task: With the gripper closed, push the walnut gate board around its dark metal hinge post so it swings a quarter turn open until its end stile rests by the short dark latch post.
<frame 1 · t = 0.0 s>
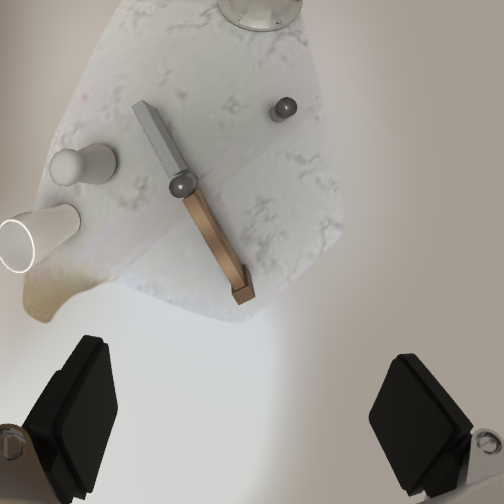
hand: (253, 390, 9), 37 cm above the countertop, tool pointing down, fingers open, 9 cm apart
grey rectangular slab: (167, 140, 41), on the countertop
hinge post: (189, 180, 43), on the countertop
gate: (218, 243, 41), point 5 cm above the countertop, hinge at 0.0°
drinking glass: (67, 219, 43), on the countertop
salt shaker: (103, 163, 41), on the countertop
latch post: (278, 114, 41), on the countertop
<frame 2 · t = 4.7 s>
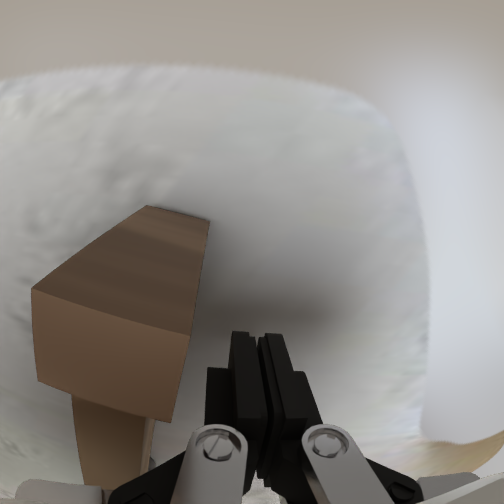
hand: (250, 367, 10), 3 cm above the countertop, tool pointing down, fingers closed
gate: (129, 434, 9), point 5 cm above the countertop, hinge at 6.9°, touching gripper
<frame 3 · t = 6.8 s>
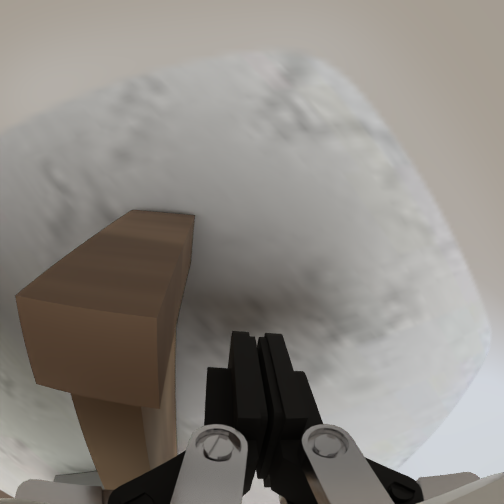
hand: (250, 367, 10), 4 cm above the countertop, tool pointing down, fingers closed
grey rectangular slab: (99, 476, 17), on the countertop
gate: (147, 435, 10), point 5 cm above the countertop, hinge at 56.3°, touching gripper
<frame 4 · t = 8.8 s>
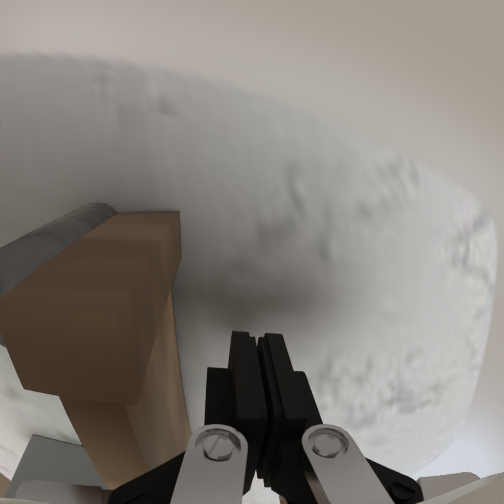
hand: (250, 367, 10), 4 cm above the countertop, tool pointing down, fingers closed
grey rectangular slab: (94, 454, 16), on the countertop
gate: (154, 435, 10), point 5 cm above the countertop, hinge at 91.1°, touching gripper, latch post
latch post: (98, 231, 12), on the countertop
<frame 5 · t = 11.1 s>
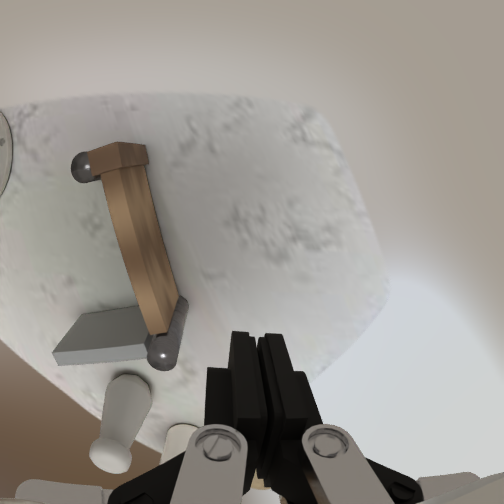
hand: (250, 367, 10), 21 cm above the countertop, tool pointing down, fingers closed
grey rectangular slab: (121, 314, 32), on the countertop
hinge post: (177, 305, 32), on the countertop
gate: (140, 234, 25), point 5 cm above the countertop, hinge at 91.1°, touching latch post
drinking glass: (186, 433, 38), on the countertop
salt shaker: (133, 384, 35), on the countertop
latch post: (114, 164, 27), on the countertop
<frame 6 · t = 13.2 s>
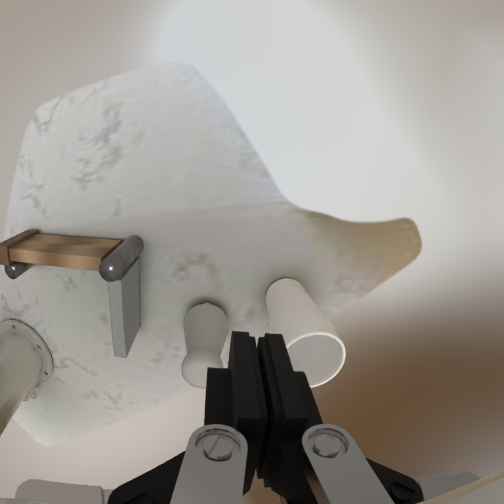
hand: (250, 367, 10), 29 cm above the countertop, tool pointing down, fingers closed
grey rectangular slab: (134, 292, 40), on the countertop
hinge post: (134, 244, 38), on the countertop
gate: (57, 249, 33), point 5 cm above the countertop, hinge at 91.1°, touching latch post
drinking glass: (284, 294, 42), on the countertop
salt shaker: (207, 315, 42), on the countertop
latch post: (37, 253, 37), on the countertop
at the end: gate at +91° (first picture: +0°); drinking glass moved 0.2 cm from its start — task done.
